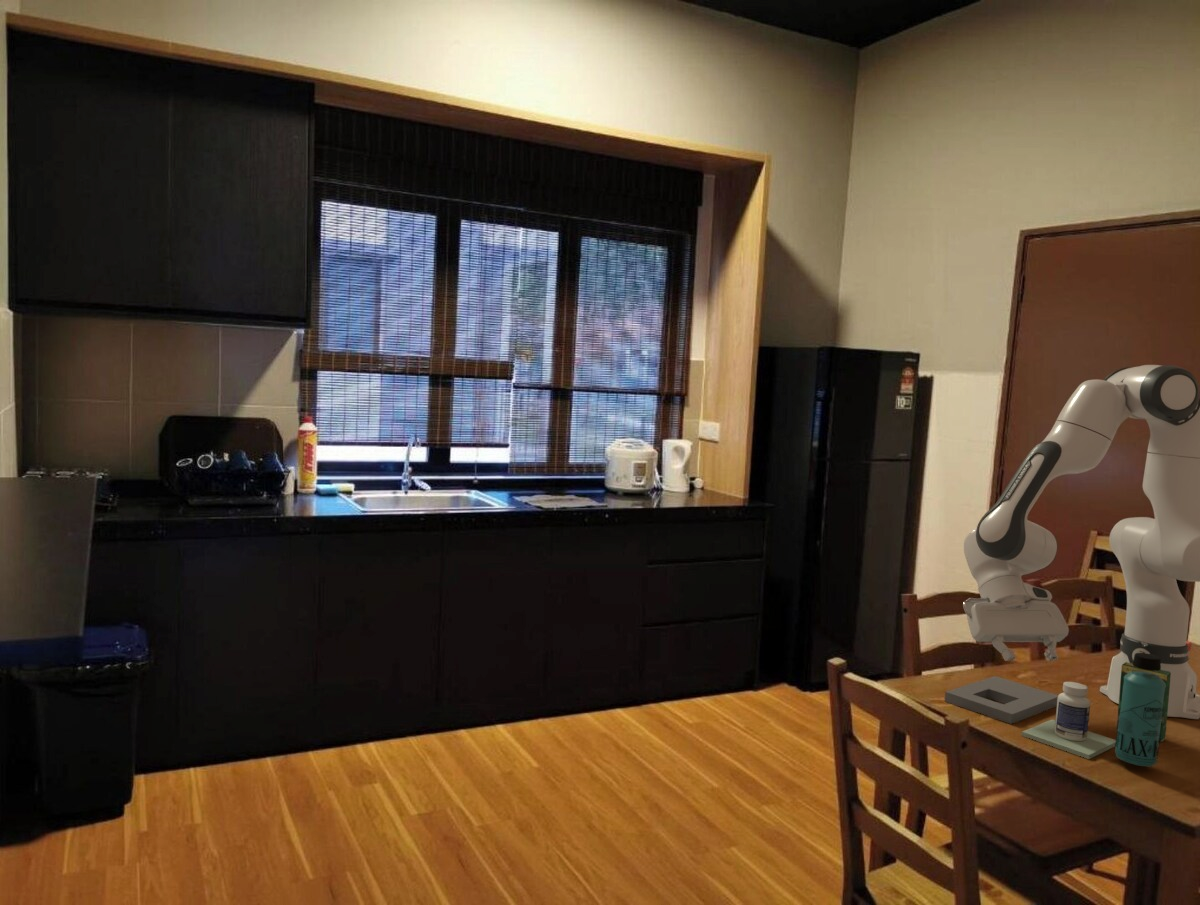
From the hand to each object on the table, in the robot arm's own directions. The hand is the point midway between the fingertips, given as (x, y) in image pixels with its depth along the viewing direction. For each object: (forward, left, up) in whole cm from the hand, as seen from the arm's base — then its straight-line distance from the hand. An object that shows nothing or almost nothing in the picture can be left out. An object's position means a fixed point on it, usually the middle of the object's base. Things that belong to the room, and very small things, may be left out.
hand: (1031, 659), depth 177 cm
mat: (+6, +11, -11) cm, 17 cm away
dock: (-2, -6, -11) cm, 13 cm away
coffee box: (-10, +17, -12) cm, 23 cm away
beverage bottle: (+8, +23, -12) cm, 27 cm away
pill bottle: (+6, +11, -11) cm, 16 cm away
